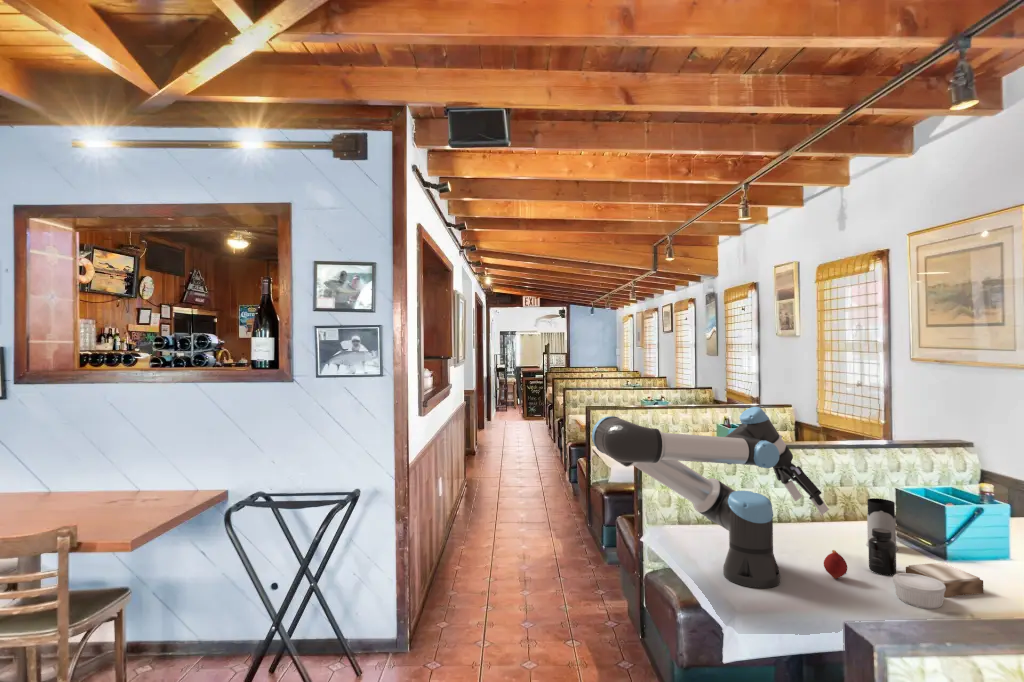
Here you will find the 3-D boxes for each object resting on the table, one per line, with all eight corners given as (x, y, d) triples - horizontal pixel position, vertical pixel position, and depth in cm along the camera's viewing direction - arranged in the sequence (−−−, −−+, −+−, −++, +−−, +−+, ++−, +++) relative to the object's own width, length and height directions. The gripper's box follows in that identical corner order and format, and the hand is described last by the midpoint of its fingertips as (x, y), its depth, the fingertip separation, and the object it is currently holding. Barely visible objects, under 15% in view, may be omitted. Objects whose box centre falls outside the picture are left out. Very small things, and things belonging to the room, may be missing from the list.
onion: (845, 575, 163) (844, 548, 163) (849, 583, 158) (849, 554, 158) (822, 573, 165) (821, 545, 165) (826, 581, 160) (825, 552, 160)
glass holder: (866, 548, 185) (865, 502, 185) (866, 536, 197) (865, 493, 197) (898, 553, 180) (897, 506, 181) (896, 540, 192) (895, 496, 193)
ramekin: (924, 591, 152) (923, 571, 152) (958, 610, 141) (957, 589, 141) (883, 592, 152) (882, 572, 152) (914, 611, 141) (913, 590, 141)
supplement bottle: (902, 576, 162) (901, 534, 163) (878, 576, 163) (877, 534, 163) (886, 566, 169) (885, 526, 170) (863, 567, 170) (862, 526, 170)
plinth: (944, 597, 149) (944, 581, 149) (905, 579, 160) (905, 564, 160) (983, 593, 150) (983, 578, 151) (942, 575, 162) (942, 561, 162)
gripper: (809, 453, 167) (846, 510, 168) (764, 436, 191) (797, 487, 193) (788, 467, 166) (827, 525, 168) (746, 449, 191) (779, 500, 192)
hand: (811, 505), depth 180 cm, fingers open, 13 cm apart
